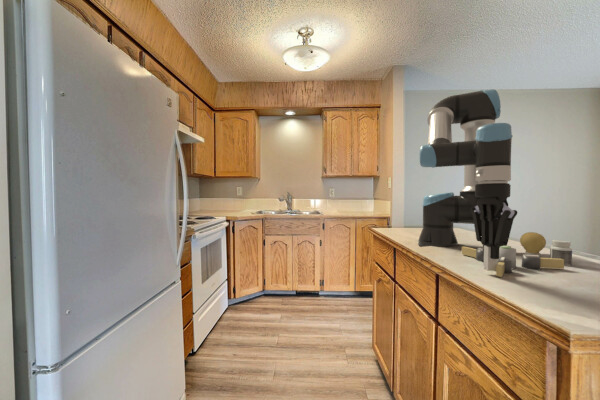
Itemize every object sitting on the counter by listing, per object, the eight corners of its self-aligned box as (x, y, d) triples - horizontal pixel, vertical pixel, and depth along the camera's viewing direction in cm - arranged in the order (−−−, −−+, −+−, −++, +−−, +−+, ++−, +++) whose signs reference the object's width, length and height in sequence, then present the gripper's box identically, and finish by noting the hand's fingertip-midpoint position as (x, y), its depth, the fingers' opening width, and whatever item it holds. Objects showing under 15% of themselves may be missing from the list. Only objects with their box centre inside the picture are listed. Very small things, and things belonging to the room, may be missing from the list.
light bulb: (518, 258, 88) (518, 230, 87) (543, 261, 84) (543, 231, 84) (520, 262, 83) (521, 232, 82) (547, 265, 79) (548, 234, 79)
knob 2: (494, 267, 72) (494, 255, 72) (512, 270, 70) (512, 258, 69) (489, 275, 66) (489, 262, 66) (509, 279, 63) (509, 265, 63)
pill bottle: (576, 270, 74) (577, 242, 73) (557, 269, 75) (558, 242, 74) (563, 266, 78) (563, 239, 78) (545, 265, 79) (546, 239, 79)
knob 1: (494, 261, 79) (494, 250, 79) (485, 262, 78) (485, 251, 78) (467, 254, 88) (467, 244, 88) (458, 255, 87) (458, 245, 87)
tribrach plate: (459, 260, 85) (460, 239, 85) (521, 264, 81) (522, 241, 80) (484, 278, 68) (484, 251, 68) (565, 283, 63) (566, 255, 63)
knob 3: (527, 268, 71) (527, 256, 71) (518, 265, 75) (518, 253, 75) (567, 271, 69) (568, 258, 69) (557, 267, 73) (557, 255, 72)
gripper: (461, 183, 73) (460, 263, 73) (499, 181, 60) (497, 278, 60) (486, 183, 73) (485, 262, 74) (529, 181, 60) (526, 277, 61)
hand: (490, 269), depth 67 cm, fingers closed
